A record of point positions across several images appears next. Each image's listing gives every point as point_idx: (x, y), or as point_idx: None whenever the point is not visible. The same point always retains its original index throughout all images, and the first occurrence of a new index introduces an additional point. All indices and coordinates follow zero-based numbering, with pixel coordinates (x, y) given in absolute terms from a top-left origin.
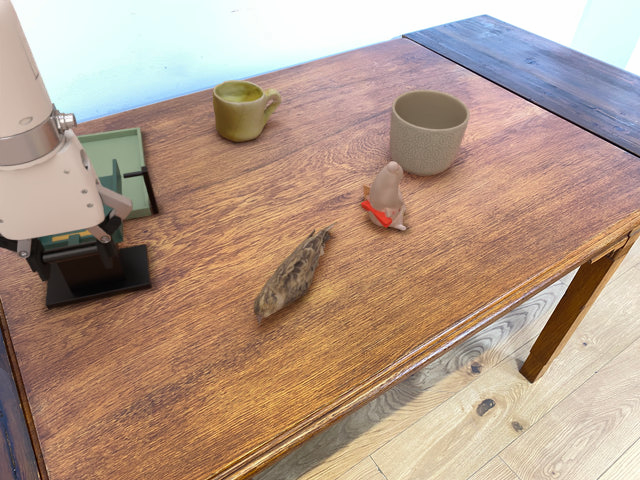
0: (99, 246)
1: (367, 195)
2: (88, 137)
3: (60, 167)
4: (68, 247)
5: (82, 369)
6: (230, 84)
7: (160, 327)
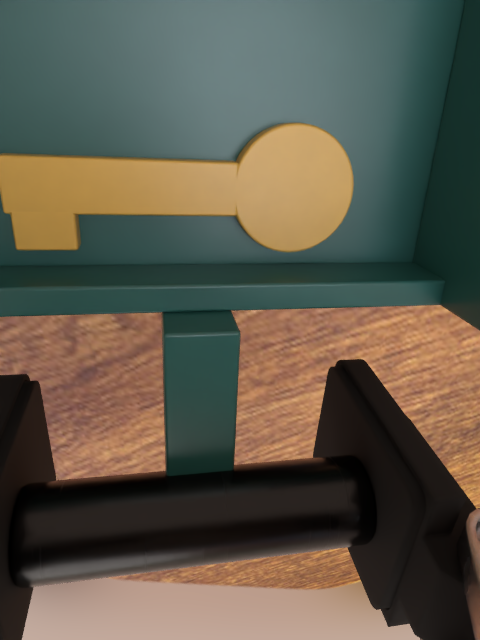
0: (393, 622)
1: None
2: None
3: None
4: (200, 558)
5: (126, 418)
6: None
7: (324, 347)
